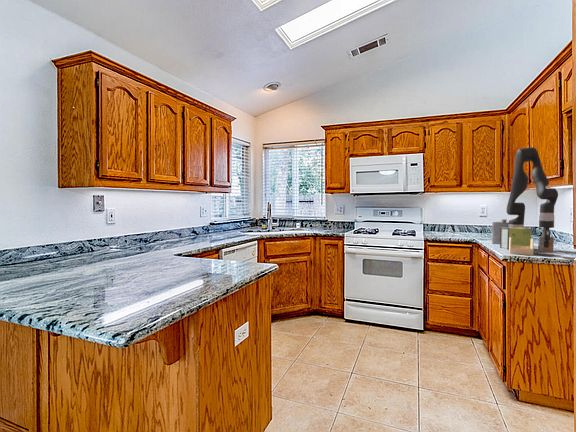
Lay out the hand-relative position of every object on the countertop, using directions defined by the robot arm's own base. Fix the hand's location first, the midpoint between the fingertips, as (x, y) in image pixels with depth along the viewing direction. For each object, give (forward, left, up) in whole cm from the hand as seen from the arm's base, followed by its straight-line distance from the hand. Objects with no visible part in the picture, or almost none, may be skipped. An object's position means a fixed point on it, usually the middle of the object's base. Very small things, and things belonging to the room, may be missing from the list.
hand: (545, 246), depth 208 cm
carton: (0, -13, -6) cm, 14 cm away
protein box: (-20, -15, -6) cm, 26 cm away
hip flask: (-49, -21, -6) cm, 54 cm away
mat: (0, 0, -6) cm, 6 cm away
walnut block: (0, 0, -3) cm, 3 cm away
